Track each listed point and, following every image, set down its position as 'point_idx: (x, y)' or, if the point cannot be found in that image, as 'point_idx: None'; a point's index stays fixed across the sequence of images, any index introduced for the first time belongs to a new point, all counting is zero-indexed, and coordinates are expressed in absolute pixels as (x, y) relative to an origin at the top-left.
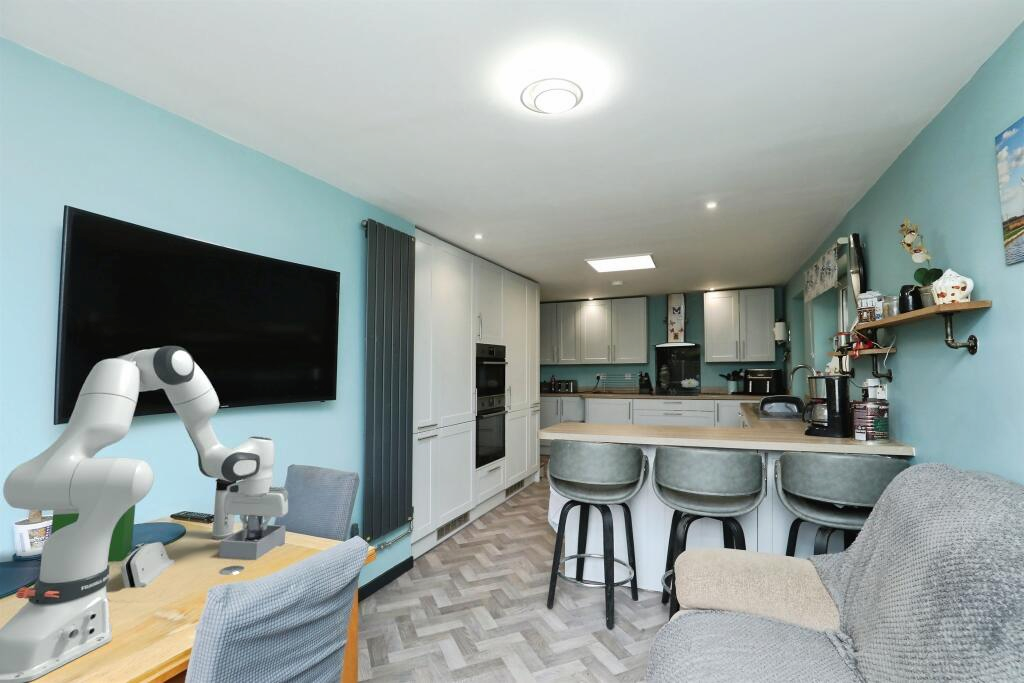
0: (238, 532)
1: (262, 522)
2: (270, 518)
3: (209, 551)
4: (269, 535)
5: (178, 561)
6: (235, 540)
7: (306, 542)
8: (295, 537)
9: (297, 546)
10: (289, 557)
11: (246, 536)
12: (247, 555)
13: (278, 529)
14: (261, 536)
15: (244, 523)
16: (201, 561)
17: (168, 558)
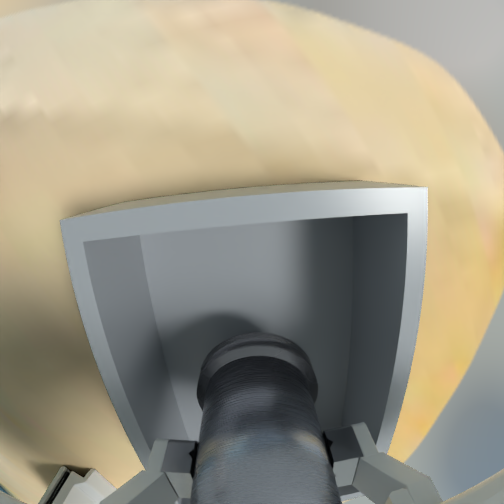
0: (136, 429)
1: (332, 472)
2: (424, 480)
3: (57, 367)
4: (395, 422)
5: (66, 444)
6: (158, 423)
7: (458, 141)
8: (358, 61)
9: (446, 210)
10: (454, 345)
11: (132, 312)
12: None
13: (413, 304)
14: (308, 387)
15: (175, 498)
16: (127, 448)
17: (74, 486)
